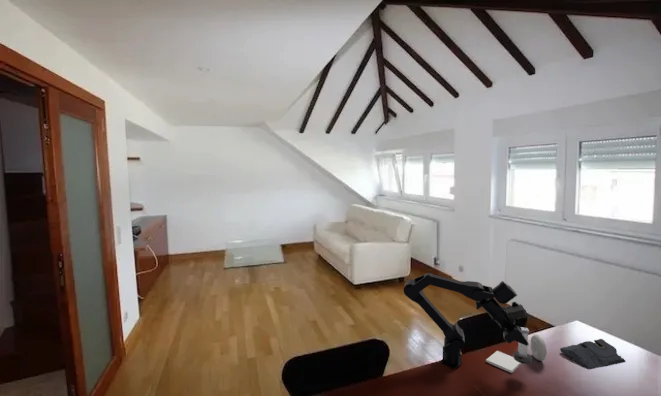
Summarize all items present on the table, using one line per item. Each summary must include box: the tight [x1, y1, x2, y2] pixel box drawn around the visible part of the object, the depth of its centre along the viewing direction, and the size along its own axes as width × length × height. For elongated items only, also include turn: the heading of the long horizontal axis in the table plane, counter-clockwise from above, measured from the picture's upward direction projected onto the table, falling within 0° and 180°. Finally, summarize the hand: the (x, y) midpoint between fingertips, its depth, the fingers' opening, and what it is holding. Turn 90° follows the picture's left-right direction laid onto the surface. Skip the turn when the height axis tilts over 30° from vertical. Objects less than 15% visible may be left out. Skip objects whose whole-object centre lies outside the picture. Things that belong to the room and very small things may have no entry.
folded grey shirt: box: [559, 338, 626, 370], centre depth 138 cm, size 15×22×5 cm
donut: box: [529, 334, 548, 361], centre depth 136 cm, size 10×3×10 cm, turn 168°
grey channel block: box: [512, 326, 533, 365], centre depth 125 cm, size 6×6×12 cm
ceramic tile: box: [485, 350, 523, 374], centre depth 135 cm, size 10×10×1 cm
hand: (527, 343), depth 124 cm, fingers closed on grey channel block, 2 cm apart
